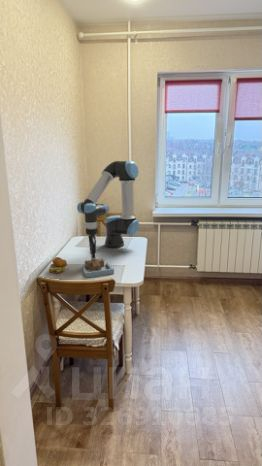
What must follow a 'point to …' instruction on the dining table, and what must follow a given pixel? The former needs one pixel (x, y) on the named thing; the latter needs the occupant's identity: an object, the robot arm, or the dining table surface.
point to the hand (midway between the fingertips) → (93, 262)
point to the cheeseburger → (57, 265)
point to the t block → (94, 264)
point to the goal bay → (100, 272)
